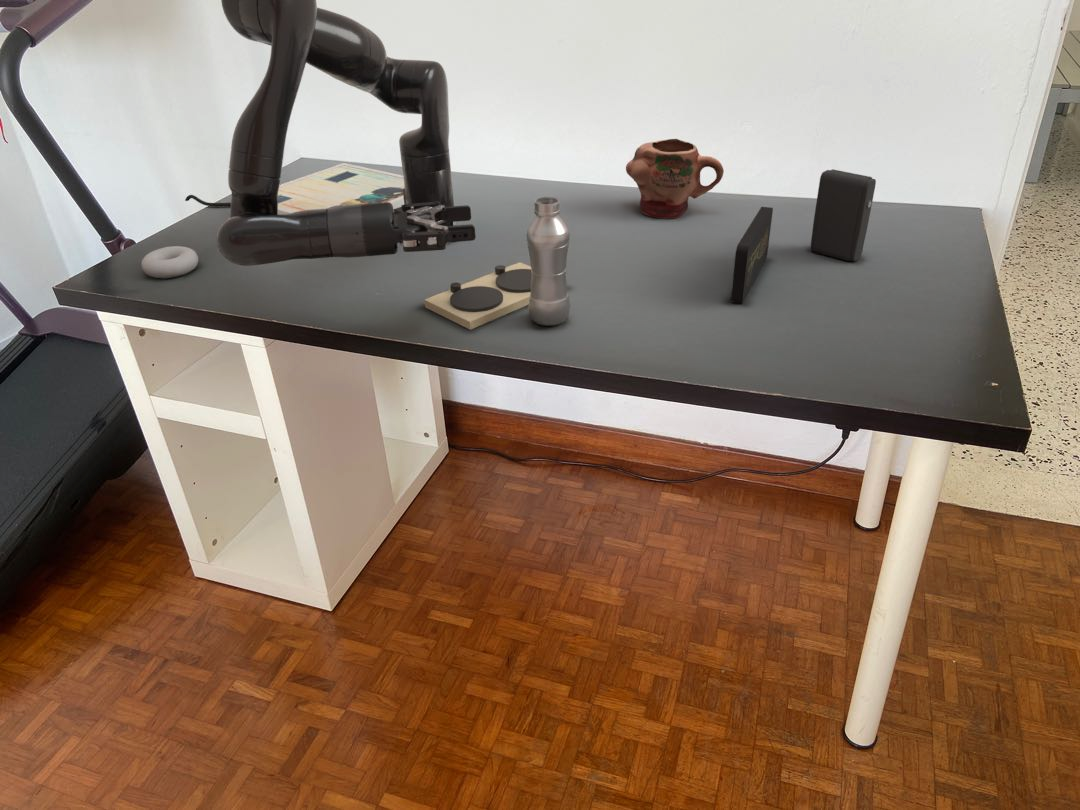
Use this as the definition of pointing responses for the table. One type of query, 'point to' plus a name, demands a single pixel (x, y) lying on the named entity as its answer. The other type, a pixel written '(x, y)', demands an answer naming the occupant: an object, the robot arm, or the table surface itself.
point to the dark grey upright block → (842, 214)
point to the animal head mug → (670, 176)
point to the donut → (169, 262)
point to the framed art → (340, 189)
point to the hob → (484, 296)
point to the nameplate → (751, 254)
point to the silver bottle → (548, 263)
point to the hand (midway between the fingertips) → (472, 222)
